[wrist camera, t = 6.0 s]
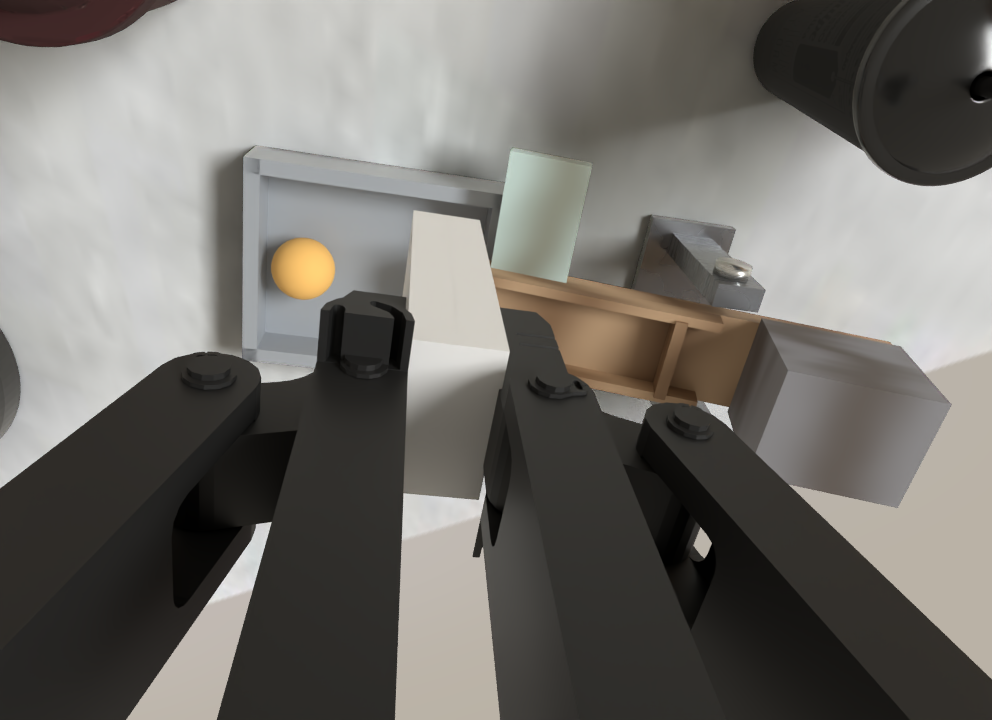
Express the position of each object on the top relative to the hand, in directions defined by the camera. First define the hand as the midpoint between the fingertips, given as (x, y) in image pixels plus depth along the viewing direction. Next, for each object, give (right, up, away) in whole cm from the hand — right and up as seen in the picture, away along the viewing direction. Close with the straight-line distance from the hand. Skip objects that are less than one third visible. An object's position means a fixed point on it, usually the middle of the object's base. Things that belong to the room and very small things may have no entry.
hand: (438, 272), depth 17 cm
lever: (+10, +2, +21) cm, 24 cm away
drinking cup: (+17, +15, +22) cm, 31 cm away
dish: (-6, +4, +26) cm, 26 cm away
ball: (-9, +3, +23) cm, 25 cm away
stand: (+12, +2, +28) cm, 31 cm away
